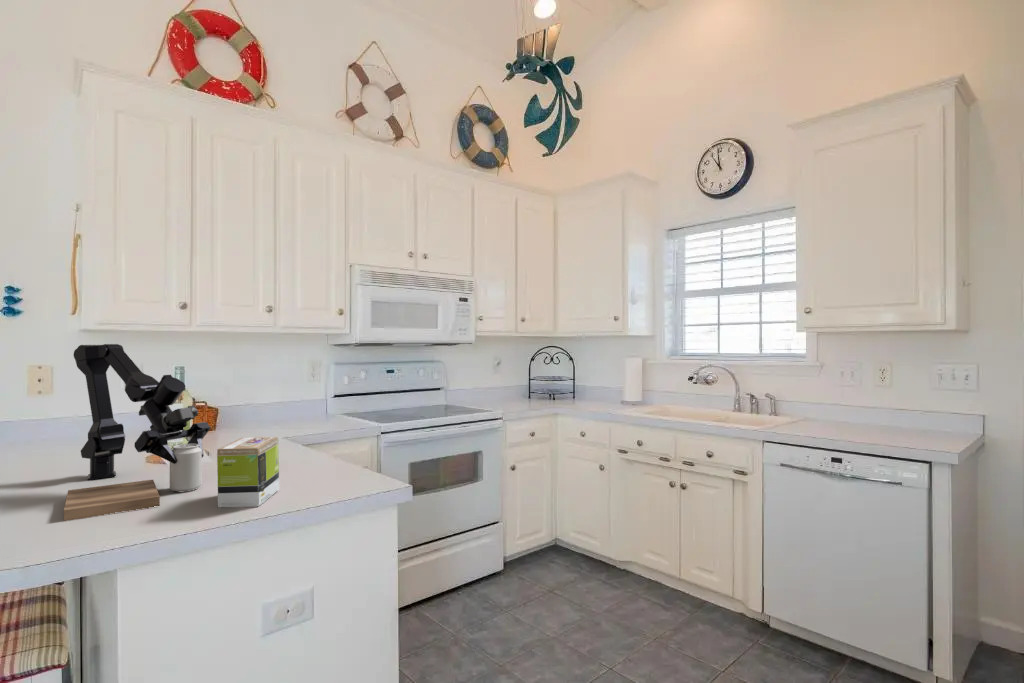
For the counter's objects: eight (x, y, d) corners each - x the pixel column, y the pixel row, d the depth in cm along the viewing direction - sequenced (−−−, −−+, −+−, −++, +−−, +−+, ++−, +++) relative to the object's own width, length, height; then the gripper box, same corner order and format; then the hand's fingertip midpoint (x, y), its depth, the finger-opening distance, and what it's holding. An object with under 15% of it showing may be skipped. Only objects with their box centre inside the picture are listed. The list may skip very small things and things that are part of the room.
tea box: (241, 491, 146) (241, 436, 146) (280, 490, 147) (280, 436, 147) (216, 508, 131) (216, 447, 131) (259, 507, 132) (259, 446, 132)
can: (186, 493, 143) (186, 448, 143) (162, 492, 145) (162, 447, 145) (207, 486, 151) (208, 443, 151) (184, 484, 152) (184, 441, 152)
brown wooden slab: (68, 502, 138) (68, 490, 137) (153, 490, 148) (153, 479, 148) (64, 523, 122) (64, 510, 122) (159, 508, 132) (159, 496, 132)
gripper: (141, 400, 141) (171, 446, 137) (206, 394, 158) (234, 434, 154) (121, 428, 144) (149, 474, 139) (186, 419, 161) (213, 460, 157)
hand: (189, 459), depth 147 cm, fingers closed on can, 7 cm apart
